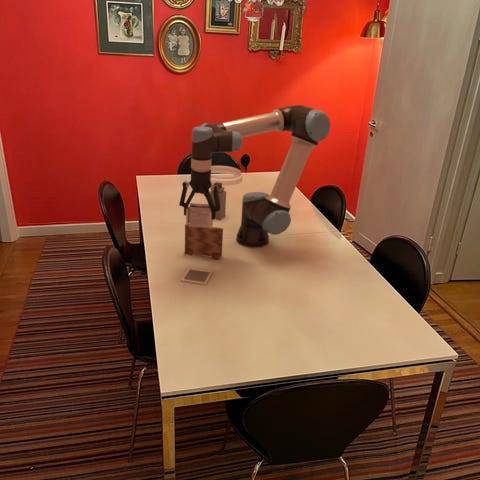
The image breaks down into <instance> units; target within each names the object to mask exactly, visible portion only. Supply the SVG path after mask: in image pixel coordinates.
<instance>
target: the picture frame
mask: <svg viewBox="0 0 480 480" xmlns="http://www.w3.org/2000/svg"><path fill="white" fill-rule="evenodd" d="M212 275H213V271H211V270H205V269H197V268H192V267H188V268H187V270H186V271H185V273H184V275H182V278H180V282H182V283H187V284H196V285H201V286H202V285H203V286H207V284H208V282H209V280H210V278H211V277H212Z"/></svg>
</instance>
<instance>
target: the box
mask: <svg viewBox="0 0 480 480" xmlns="http://www.w3.org/2000/svg"><path fill="white" fill-rule="evenodd" d="M189 207H190V213H189V227H202V228H209V212H210V207H209V204H208V203H197V202H196V203H194V202H193V203H192V202H190V204H189Z"/></svg>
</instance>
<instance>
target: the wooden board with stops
mask: <svg viewBox="0 0 480 480" xmlns="http://www.w3.org/2000/svg"><path fill="white" fill-rule="evenodd" d="M223 236H224V228H221V227H216V226H212V227H211V228H202V227H189V224H188V225H187V224H186V223H185V224H184V255H186V256H193V255H196V256H197V255H199V256H204V257H206V256H207V257H211V259H215V260H220V259H221V258H222V256H223V239H224V238H223Z"/></svg>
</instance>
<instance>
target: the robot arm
mask: <svg viewBox="0 0 480 480" xmlns="http://www.w3.org/2000/svg"><path fill="white" fill-rule="evenodd" d="M274 131H275V132H277V133H282V132H290V133H291V135H290V137H291V141H292V142H291V143H290V146H289V149H288V152H287V155H286V157H285V159H284V162H283V164H282V166H281V169H280V170H279V173H278V176H277V178H276V180H275V184H274V185H273V188H272V190H271V192H270V194H268V193H267V192H261V191H253V192H252V191H251V192H246V193H245V194H243V196H242V201H241V203H242V204H241V205H242V206H241V220H240V222H241V223H240V226H239V228H238V231H237V233H236V242H237V243H238V244H239V245H242V246H245V247H248V248H261V247H264V246H267V245H268V244H269V242H270V235H274V236H276V235H280V234H282V233H284V232H286V230H288V228H289V227H290V225H291V222H292V219H291V215H290V210H291V208H292V207H291V204H290V201H291V200H292V197H293V195H294V192H295V189H296V188H297V185H298V182H299V181H300V178H301V175H302V172H303V171H304V168H305V165H306V163H307V162H308V159H309V156H310V154H311V151H312V150H313V149H314V148H317V147H318V144H319V143H320V142H322V141H324V140H325V139H326V138H327V137H328V135H329V133H330V131H331V121H330V118H329V116H328V115H327V114H326V113H325V112H324V111H322V110H320V109H318V108H312V107H309V106H305V105H299V104H297V105H289V106H285V107H284V106H283V107H280V108H279V107H278V108H275V109H273V110H272V112H269V113H262V114H259V115H253V116H248V117H243V118H239V119H235V120H229V121H224V122H220V123H218V122H217V123H210V122H209V123H208V122H204V123H203V124H202V123H201V125H200V126H195V127H193V128H192V131H191V140H190V141H191V155H190V156H191V157H190V158H191V159H190V168H191V170H190V181H187V180H183V182H182V191H181V195H180V199H179V206H180V207H183V216H185V225H186V224H187V225H188V224H189V213H190V203H192V202H191V201H192V200H193V198H194V196H195V195H196V194H201V195H204V197H205V199H206V201H207V204H209V207H210V209H211V211H210V212H209V228H211V227H213V225H214V224H213V221H214V220H216V219H215V214H216V211H219V210H220V208H221V207H220V201H219V195H218V188H219V186H218V185H212V184H211V176H212V173H211V170H210V169H211V166H212V159H213V158H212V155H213V154H219V153H233V152H234V153H235V152H239V151H240V150H241V149H242V147H243V138H246V137H251V136H252V137H253V136H256V135H261V134H265V133H270V132H274ZM189 186H190V188H191V192H190V193H189V196H188V198H187V199H186V197H187V194H188V188H189ZM211 188H212V190H213V195H214V201H215V205H214V203H213V200H212V198H211V195H210V192H211V191H210V190H211ZM269 234H270V235H269Z"/></svg>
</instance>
